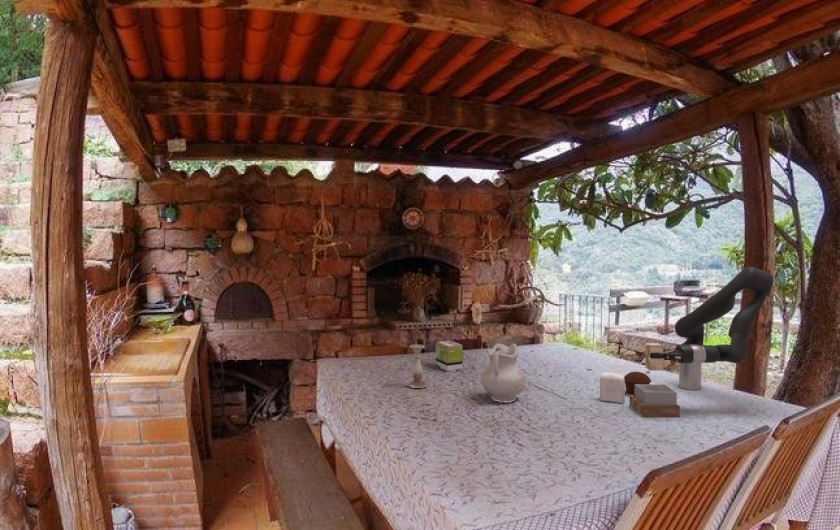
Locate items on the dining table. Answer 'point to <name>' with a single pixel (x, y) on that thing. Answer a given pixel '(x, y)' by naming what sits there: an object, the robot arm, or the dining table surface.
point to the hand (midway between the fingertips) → (647, 354)
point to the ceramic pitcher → (503, 373)
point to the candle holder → (417, 365)
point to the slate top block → (655, 394)
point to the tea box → (449, 355)
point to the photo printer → (612, 387)
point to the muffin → (635, 381)
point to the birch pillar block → (653, 363)
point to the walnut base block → (654, 409)
